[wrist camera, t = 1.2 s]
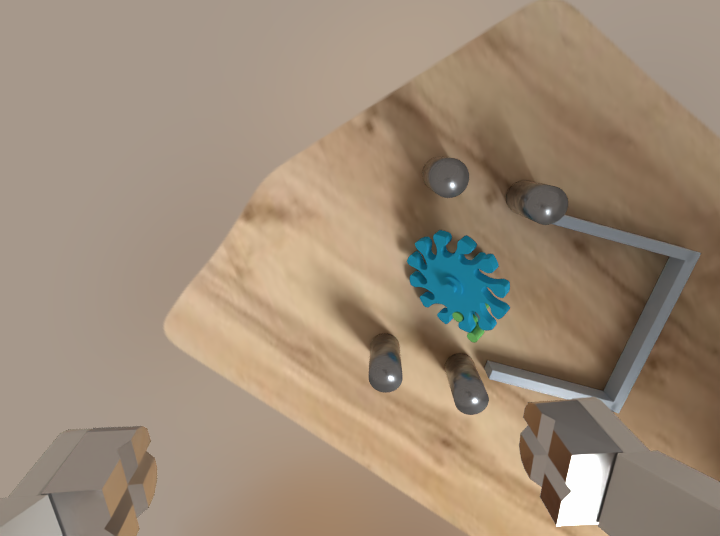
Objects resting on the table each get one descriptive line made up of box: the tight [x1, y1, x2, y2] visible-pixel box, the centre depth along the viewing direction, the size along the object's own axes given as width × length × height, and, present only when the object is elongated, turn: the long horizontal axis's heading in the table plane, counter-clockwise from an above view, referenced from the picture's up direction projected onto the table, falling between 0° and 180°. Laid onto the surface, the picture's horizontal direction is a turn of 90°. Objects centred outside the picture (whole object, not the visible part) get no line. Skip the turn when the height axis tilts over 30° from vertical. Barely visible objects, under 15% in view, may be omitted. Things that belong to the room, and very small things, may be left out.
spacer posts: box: [369, 157, 568, 415], centre depth 38 cm, size 11×21×6 cm, turn 165°
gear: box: [407, 230, 510, 342], centre depth 38 cm, size 11×6×10 cm
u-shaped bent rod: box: [484, 215, 701, 413], centre depth 40 cm, size 14×17×2 cm
